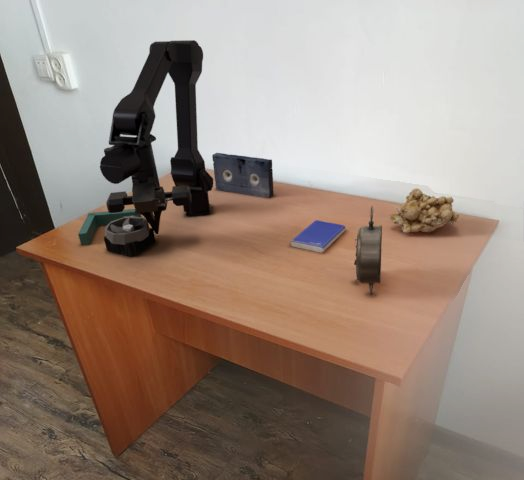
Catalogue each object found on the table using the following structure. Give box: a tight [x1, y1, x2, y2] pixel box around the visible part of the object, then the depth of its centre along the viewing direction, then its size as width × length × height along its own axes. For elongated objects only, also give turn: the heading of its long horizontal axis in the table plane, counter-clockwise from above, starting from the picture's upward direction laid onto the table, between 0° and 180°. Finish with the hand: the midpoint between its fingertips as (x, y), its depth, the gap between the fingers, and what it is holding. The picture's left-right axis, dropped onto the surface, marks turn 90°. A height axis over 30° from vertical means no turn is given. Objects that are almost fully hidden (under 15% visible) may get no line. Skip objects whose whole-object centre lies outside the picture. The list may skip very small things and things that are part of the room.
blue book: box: [290, 220, 346, 254], centre depth 117 cm, size 2×8×12 cm
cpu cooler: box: [103, 216, 157, 257], centre depth 119 cm, size 10×6×10 cm
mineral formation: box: [388, 187, 460, 234], centre depth 117 cm, size 8×13×15 cm
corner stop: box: [77, 208, 143, 246], centre depth 127 cm, size 14×13×3 cm
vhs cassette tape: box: [211, 152, 274, 199], centre depth 141 cm, size 18×3×10 cm, turn 59°
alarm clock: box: [353, 205, 383, 296], centre depth 96 cm, size 11×5×16 cm, turn 168°
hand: (157, 233), depth 119 cm, fingers closed
